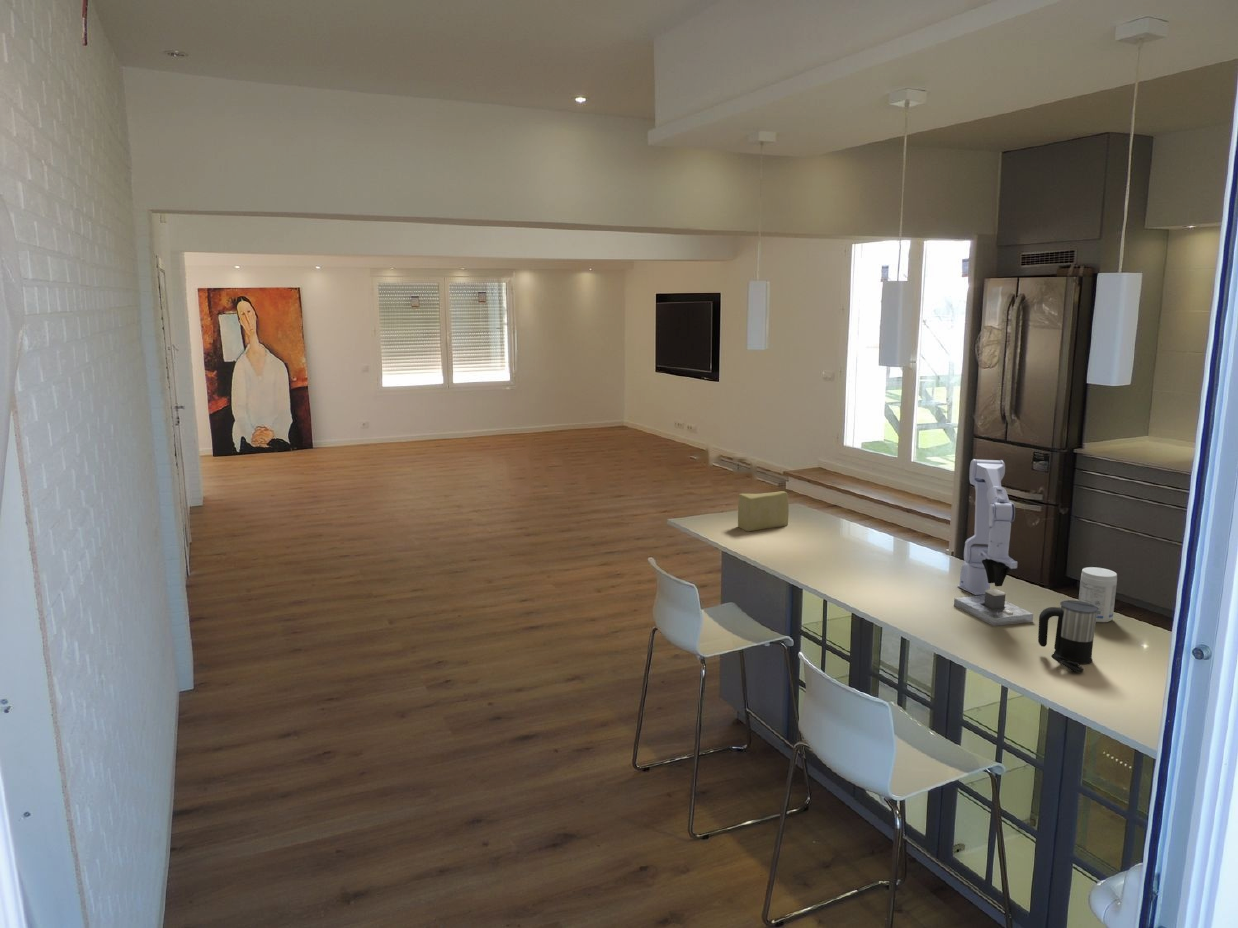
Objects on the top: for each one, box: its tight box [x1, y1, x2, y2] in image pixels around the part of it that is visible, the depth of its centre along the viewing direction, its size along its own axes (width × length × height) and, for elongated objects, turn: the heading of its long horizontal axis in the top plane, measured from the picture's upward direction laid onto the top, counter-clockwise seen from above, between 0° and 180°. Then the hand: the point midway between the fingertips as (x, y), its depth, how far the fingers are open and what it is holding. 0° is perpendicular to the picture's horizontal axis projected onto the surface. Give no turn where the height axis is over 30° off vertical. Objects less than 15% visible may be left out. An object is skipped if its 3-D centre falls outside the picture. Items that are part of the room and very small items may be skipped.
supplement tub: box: [1078, 566, 1118, 623], centre depth 254 cm, size 10×10×15 cm
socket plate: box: [953, 594, 1034, 627], centre depth 258 cm, size 18×14×3 cm
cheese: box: [737, 490, 790, 532], centre depth 357 cm, size 22×10×15 cm, turn 111°
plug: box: [984, 588, 1006, 610], centre depth 258 cm, size 4×4×6 cm
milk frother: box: [1037, 599, 1099, 673], centre depth 221 cm, size 14×16×15 cm
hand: (994, 584), depth 257 cm, fingers open, 2 cm apart
